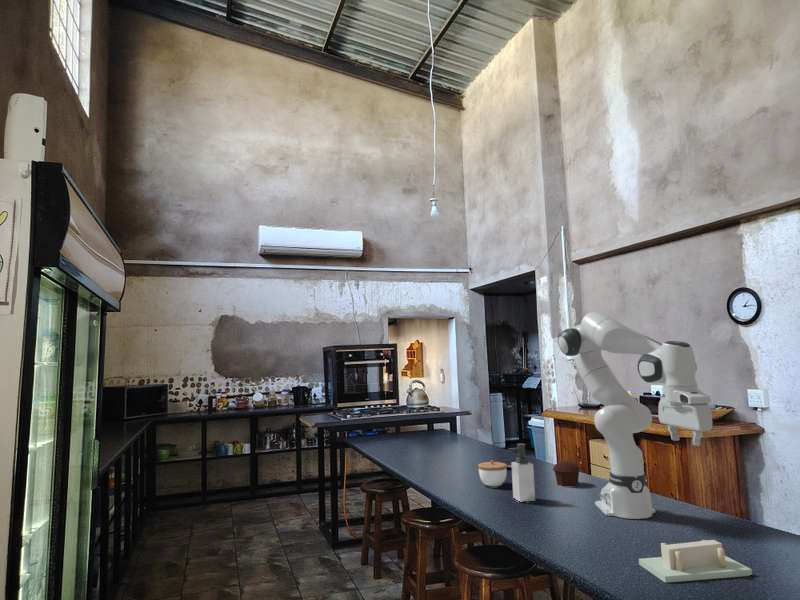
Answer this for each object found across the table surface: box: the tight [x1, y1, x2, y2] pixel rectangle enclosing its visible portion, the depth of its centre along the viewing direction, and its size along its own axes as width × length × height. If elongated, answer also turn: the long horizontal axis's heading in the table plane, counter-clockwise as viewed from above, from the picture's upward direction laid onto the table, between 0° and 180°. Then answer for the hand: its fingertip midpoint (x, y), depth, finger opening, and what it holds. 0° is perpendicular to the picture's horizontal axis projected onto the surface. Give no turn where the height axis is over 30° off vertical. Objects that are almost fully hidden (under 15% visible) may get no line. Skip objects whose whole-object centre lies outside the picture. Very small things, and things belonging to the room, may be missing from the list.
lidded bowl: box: [477, 459, 508, 487], centre depth 238 cm, size 13×13×11 cm
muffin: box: [552, 460, 581, 487], centre depth 236 cm, size 12×11×10 cm
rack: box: [638, 539, 753, 584], centre depth 142 cm, size 24×12×6 cm, turn 96°
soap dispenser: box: [507, 443, 536, 502], centre depth 213 cm, size 6×9×22 cm
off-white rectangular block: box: [660, 539, 723, 569], centre depth 142 cm, size 16×3×5 cm, turn 101°
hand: (685, 442), depth 156 cm, fingers open, 8 cm apart
